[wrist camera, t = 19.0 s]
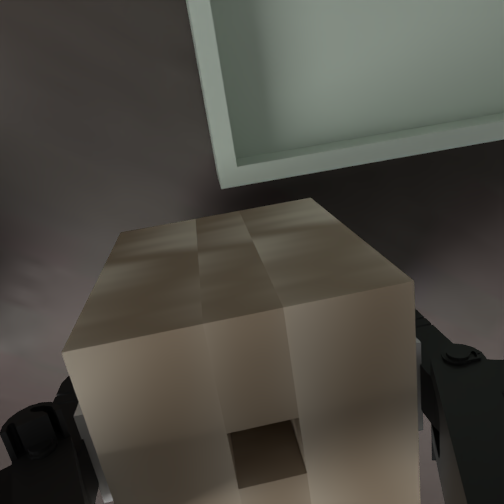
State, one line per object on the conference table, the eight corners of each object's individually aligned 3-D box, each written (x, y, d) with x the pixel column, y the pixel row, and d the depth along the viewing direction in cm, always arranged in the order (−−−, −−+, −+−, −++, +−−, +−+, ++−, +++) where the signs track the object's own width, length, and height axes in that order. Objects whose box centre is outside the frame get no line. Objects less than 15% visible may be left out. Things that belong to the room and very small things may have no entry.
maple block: (163, 392, 18) (147, 597, 11) (120, 232, 16) (61, 352, 8) (327, 357, 19) (420, 529, 11) (310, 197, 16) (414, 280, 9)
